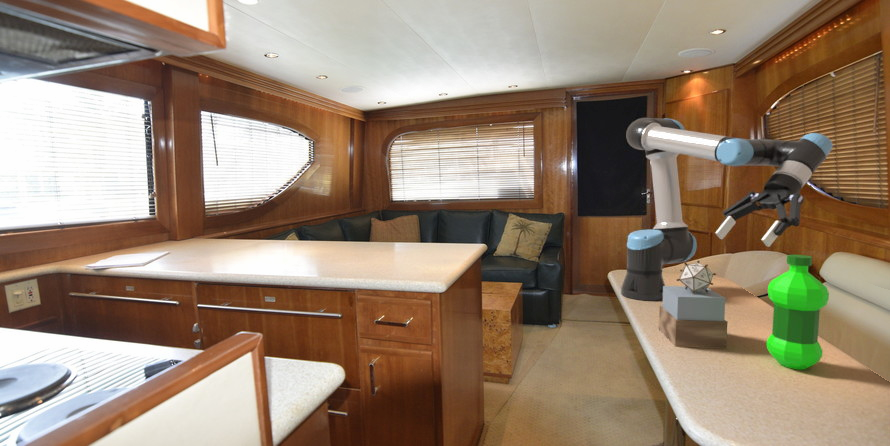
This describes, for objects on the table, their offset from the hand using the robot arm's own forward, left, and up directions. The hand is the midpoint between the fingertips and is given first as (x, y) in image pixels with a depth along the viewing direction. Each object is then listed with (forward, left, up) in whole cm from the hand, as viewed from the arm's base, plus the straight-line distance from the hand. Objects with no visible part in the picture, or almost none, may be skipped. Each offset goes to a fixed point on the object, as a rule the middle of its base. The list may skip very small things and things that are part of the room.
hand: (740, 239), depth 116 cm
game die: (+6, -13, -13) cm, 20 cm away
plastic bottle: (+20, +2, -26) cm, 33 cm away
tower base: (+6, -14, -26) cm, 30 cm away
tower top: (+6, -14, -19) cm, 24 cm away
